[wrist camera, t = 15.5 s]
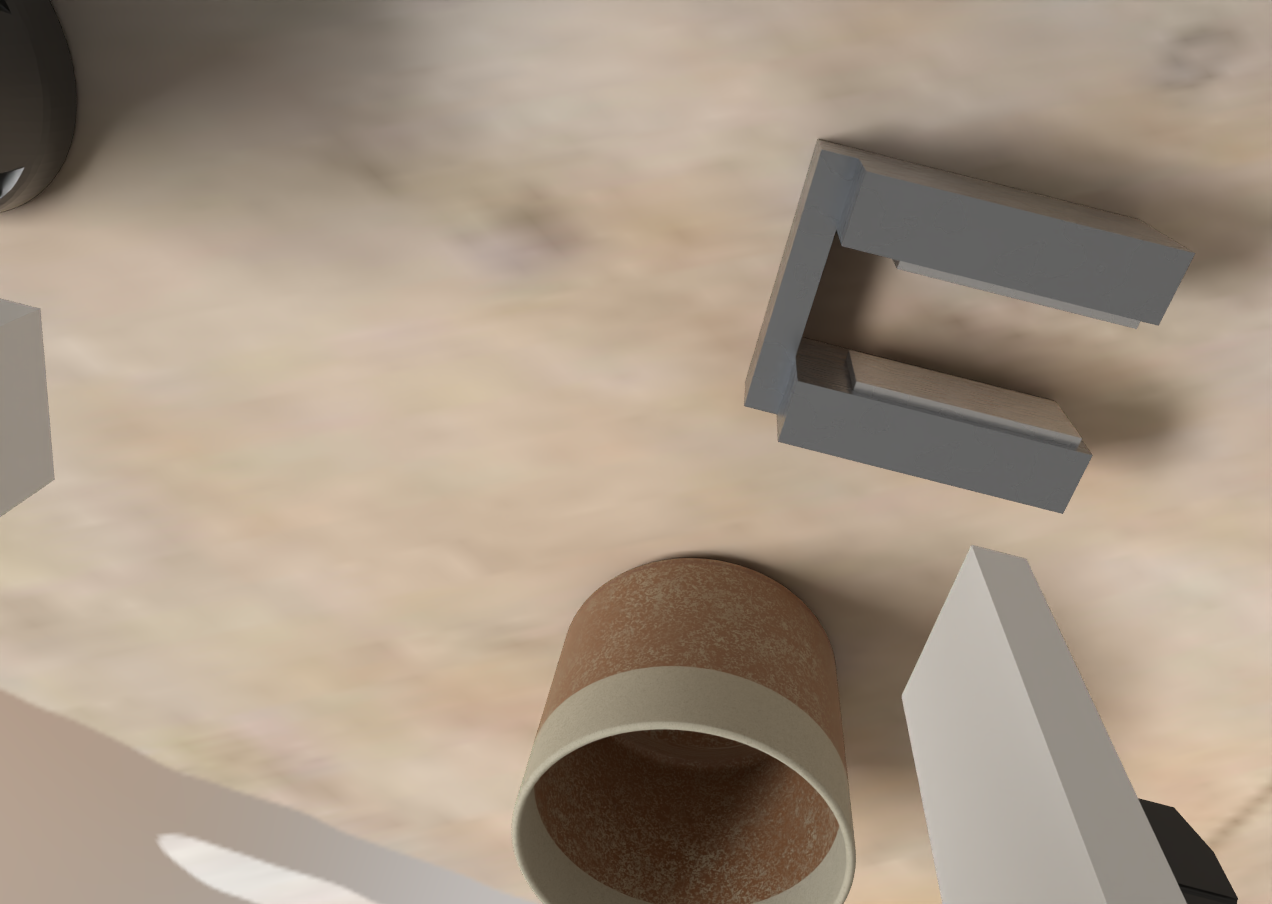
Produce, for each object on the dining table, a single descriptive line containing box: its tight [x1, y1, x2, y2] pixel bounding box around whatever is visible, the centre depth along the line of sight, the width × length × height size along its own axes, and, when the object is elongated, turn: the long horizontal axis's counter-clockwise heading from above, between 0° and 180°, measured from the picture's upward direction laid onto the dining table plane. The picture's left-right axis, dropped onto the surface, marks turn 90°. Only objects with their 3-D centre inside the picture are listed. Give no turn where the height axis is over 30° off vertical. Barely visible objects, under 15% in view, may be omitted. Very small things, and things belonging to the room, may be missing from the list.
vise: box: [744, 139, 1195, 514], centre depth 41 cm, size 15×12×6 cm
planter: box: [512, 558, 856, 904], centre depth 49 cm, size 16×16×14 cm
